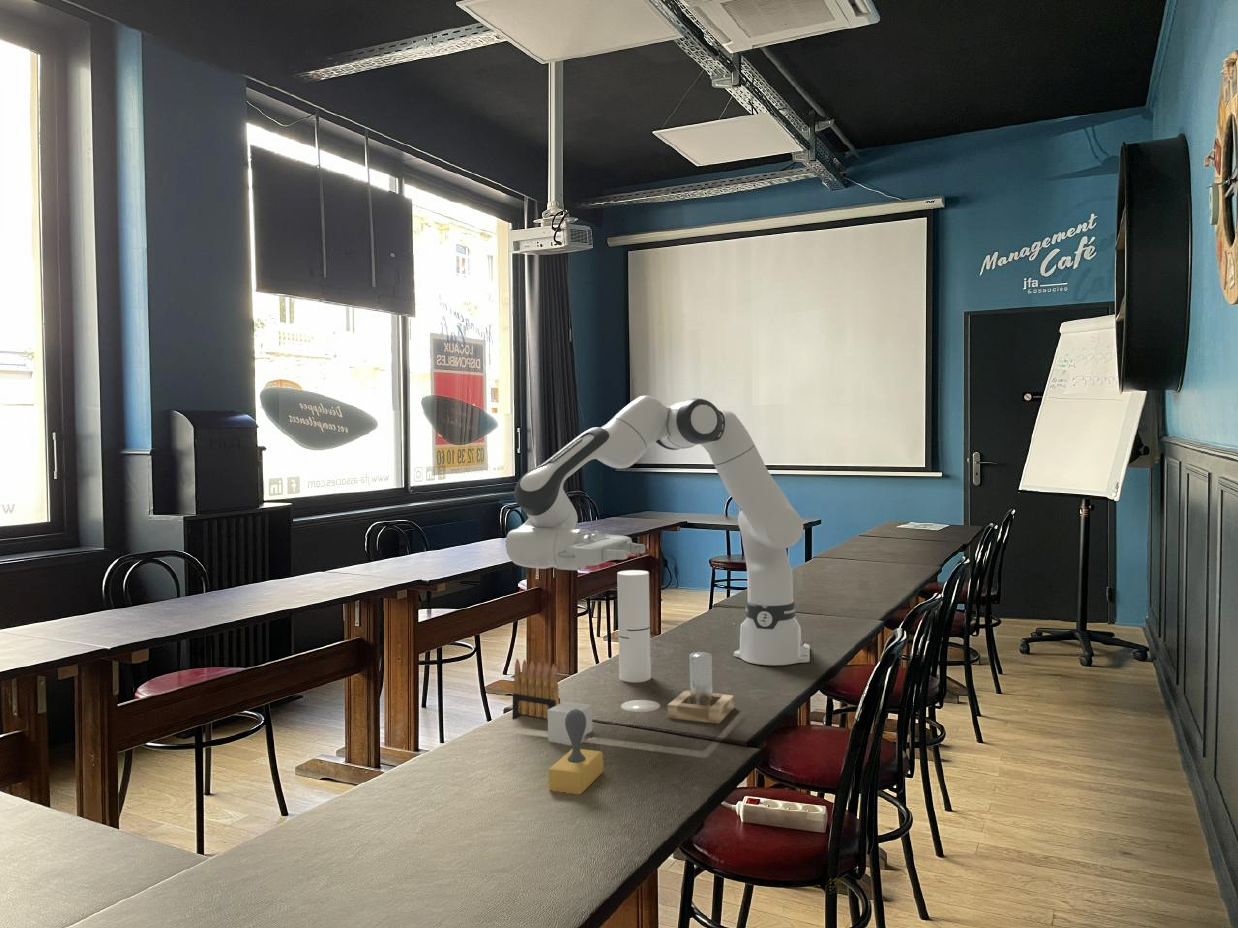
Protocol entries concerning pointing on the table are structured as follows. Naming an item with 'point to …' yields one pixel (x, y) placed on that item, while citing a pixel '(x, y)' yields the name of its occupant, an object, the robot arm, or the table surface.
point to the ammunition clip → (534, 691)
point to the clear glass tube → (701, 678)
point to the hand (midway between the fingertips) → (635, 551)
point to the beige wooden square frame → (701, 708)
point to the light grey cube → (557, 721)
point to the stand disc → (640, 706)
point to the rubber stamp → (575, 760)
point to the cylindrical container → (634, 626)
